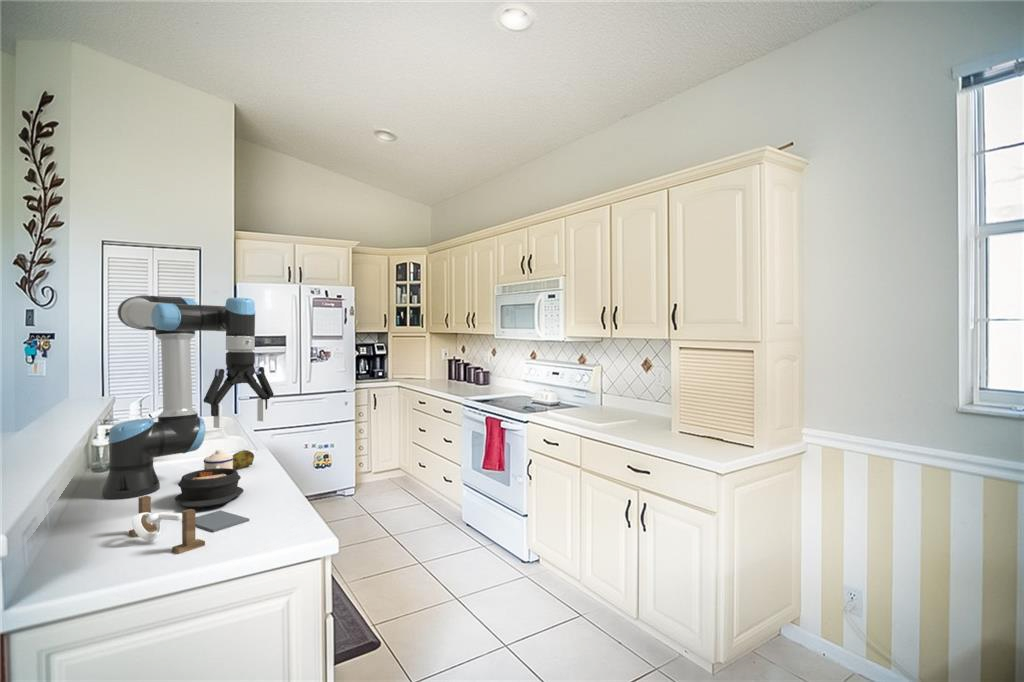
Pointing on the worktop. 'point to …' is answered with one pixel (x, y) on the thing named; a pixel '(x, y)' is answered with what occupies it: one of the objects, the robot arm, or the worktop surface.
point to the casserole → (209, 487)
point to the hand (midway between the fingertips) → (240, 424)
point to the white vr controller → (155, 520)
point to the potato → (242, 459)
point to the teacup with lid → (218, 461)
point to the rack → (187, 527)
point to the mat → (218, 520)
